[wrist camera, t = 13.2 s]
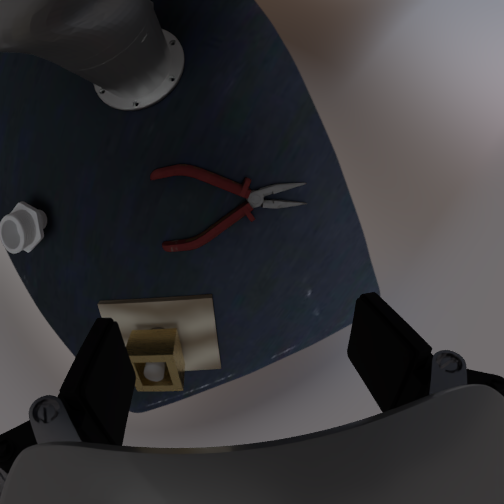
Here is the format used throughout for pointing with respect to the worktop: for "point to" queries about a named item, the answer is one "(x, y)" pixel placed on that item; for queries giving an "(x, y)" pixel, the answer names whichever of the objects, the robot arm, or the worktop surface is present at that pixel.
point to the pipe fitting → (22, 228)
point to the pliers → (244, 209)
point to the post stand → (171, 316)
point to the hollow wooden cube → (157, 358)
